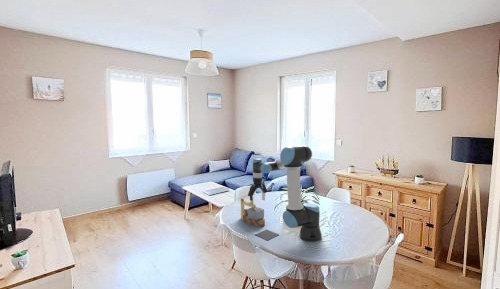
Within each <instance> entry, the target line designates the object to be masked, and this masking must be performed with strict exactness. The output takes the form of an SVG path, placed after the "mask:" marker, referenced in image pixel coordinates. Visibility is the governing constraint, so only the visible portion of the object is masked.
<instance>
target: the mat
mask: <svg viewBox="0 0 500 289" xmlns="http://www.w3.org/2000/svg"><path fill="white" fill-rule="evenodd" d="M254 235H255V236H256V237H258V238H260V239H263V240H265V241H270V240H271V239H274V238H276V237H277V236H279V233H276V232H274V231H271V230H269V229H263V230H262V231H259V232H258V233H255V234H254Z"/></svg>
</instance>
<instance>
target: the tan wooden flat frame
mask: <svg viewBox="0 0 500 289" xmlns="http://www.w3.org/2000/svg"><path fill="white" fill-rule="evenodd" d="M245 206H247V207H249V208H256V207H257V205H256V204H255V203H253V204H252V203H250V201H249V202H248V201H246V200H245V198H240V218H241V219H242V220H243V218H242V214H244V209H245Z"/></svg>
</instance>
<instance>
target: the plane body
mask: <svg viewBox="0 0 500 289" xmlns="http://www.w3.org/2000/svg"><path fill="white" fill-rule="evenodd" d="M248 209H249V208H244V214H242V218H243V219H242V218H241V219H242V221H244V222H246V223H248V224H250V225H253V226H255V227H258V228H262V227H265V226H266V224H265V223H266V222H265V221H266V220H265V218H263V219H261V220H258V221H255V220H253V219H250V218H248Z"/></svg>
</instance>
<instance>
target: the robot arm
mask: <svg viewBox="0 0 500 289" xmlns="http://www.w3.org/2000/svg"><path fill="white" fill-rule="evenodd" d="M279 155H280V156H279V160H275V161H268V162H263V159H262V158H261V157H260V158H259V157H257V158H256V157H255V158H252V182H253V183H250V188H249V190H248V193H247V196H248V197H249V203H252V204H254V194H255V193H256V191H257V189H260V190H261V191H262V192H261V200H262V201H266V193H267V192H268V189H267V187H266V185H265V181H263V174H269V173H271V172H276V171H277V172H278V171H283V170H284V169H286V186H287V205H286V206H285V210H284V211H283V213H282V220H283V222H284V224H285V226H287V228H289V229H294V228H299V227H300V230H299V237H300V239H301V240H304V241H307V242H319V241H321V239H322V238H323V237H322V236H323V235H322V232H321V229H320V212H321V211H320V207H319V206H318V204H315V203H311V202H304V203H302V194H301V192H302V190H301V168H302V167H303V163H307V162H309V161H310V160H312V157H313V152H312V149H311V148H310V147H309V146H308V145H303V144H301V145H292V146H291V145H289V146H285V147H283V148H282V150H281V152H280V154H279Z"/></svg>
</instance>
